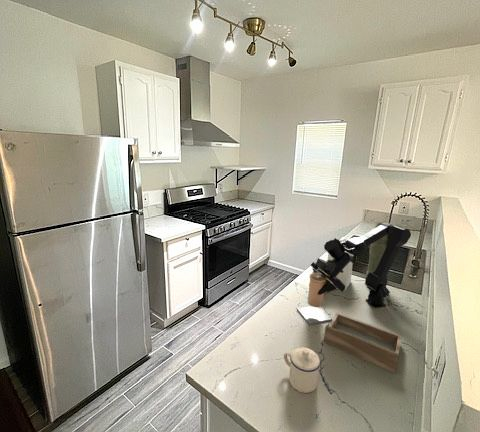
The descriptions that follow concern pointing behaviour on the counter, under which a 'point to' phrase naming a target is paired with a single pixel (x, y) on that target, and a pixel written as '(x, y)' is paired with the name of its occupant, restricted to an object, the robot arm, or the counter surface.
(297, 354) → the teacup with lid
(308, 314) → the slate tile
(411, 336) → the counter surface
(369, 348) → the wooden box frame
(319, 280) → the terracotta pot
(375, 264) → the thermos
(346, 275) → the milk
